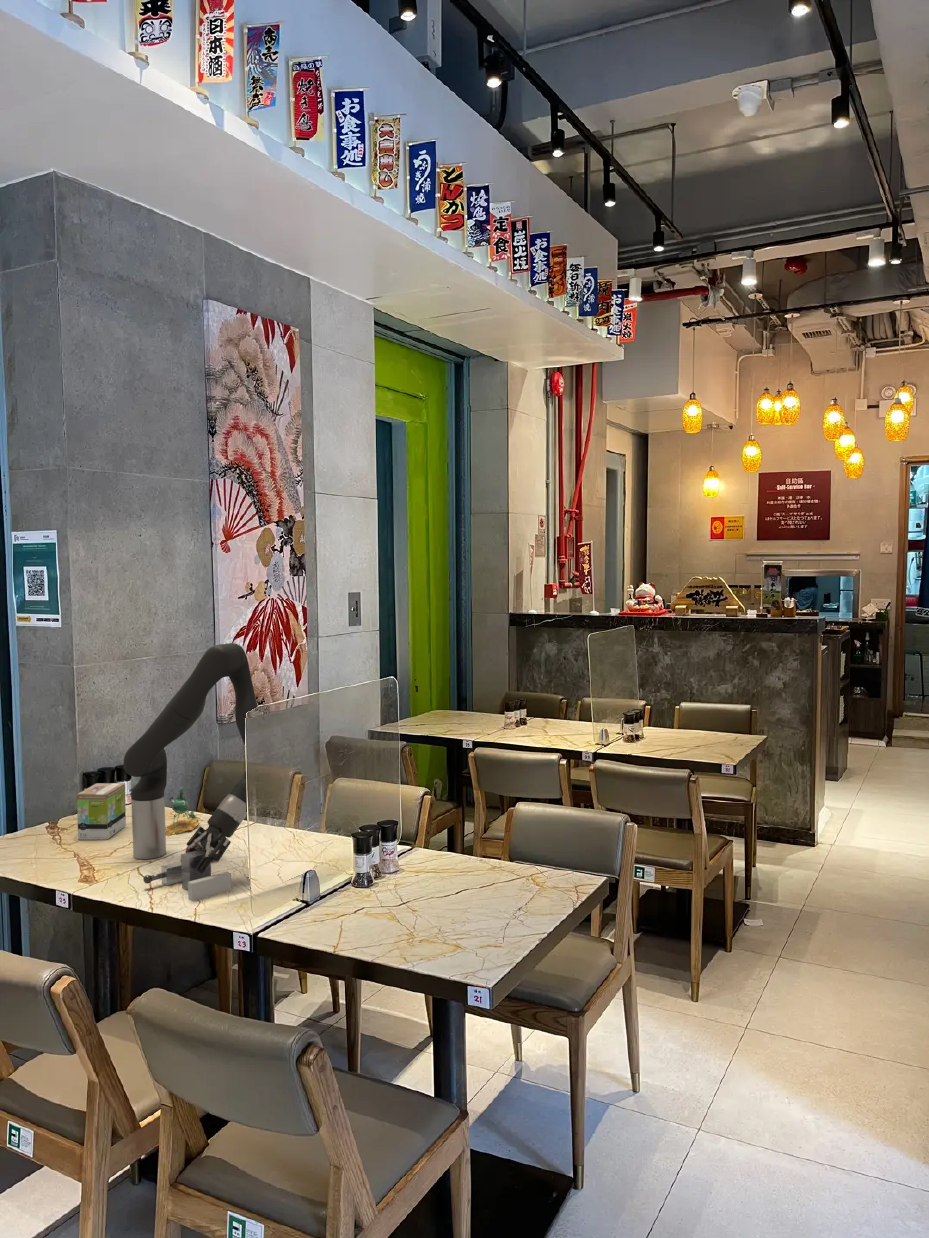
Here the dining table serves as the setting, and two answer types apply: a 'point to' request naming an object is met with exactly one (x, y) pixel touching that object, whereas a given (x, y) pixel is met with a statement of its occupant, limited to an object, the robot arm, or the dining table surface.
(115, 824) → the tea box
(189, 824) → the frog figurine
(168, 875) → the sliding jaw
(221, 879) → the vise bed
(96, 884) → the dining table surface
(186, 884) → the steel block
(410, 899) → the dining table surface
